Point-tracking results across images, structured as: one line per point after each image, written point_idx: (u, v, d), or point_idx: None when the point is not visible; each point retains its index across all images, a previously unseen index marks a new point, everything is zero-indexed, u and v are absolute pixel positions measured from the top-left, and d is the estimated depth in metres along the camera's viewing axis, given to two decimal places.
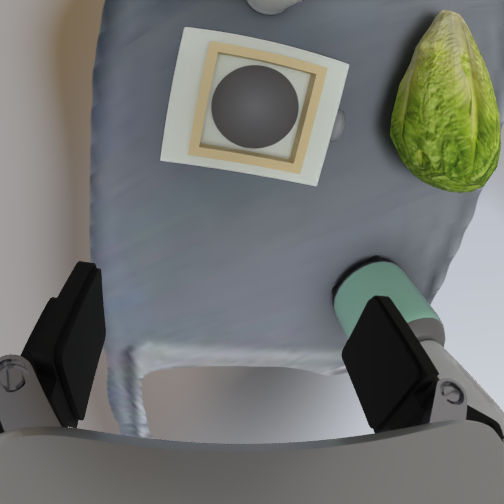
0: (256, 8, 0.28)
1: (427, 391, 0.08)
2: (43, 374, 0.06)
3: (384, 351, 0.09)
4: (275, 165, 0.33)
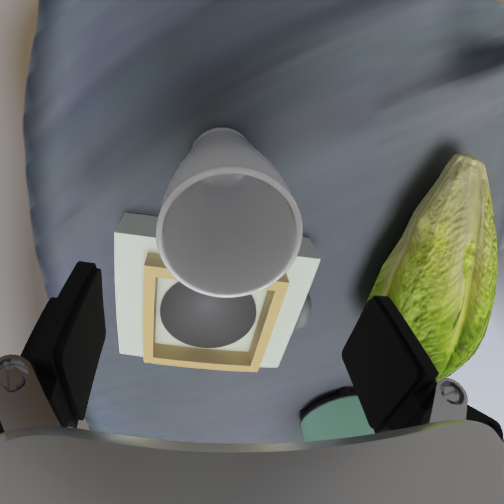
0: None
1: (427, 391, 0.08)
2: (43, 374, 0.06)
3: (384, 351, 0.09)
4: (231, 368, 0.32)
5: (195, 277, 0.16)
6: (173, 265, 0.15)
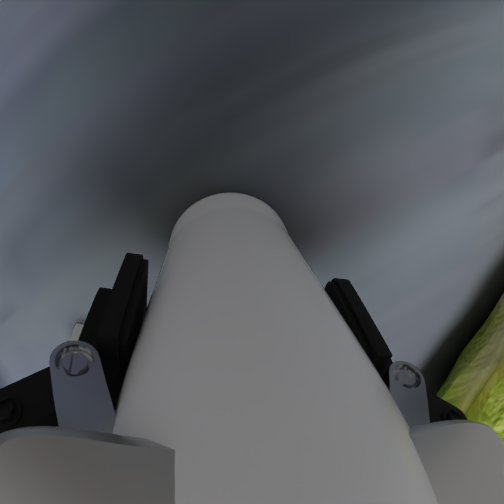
0: None
1: (382, 374, 0.08)
2: (104, 358, 0.07)
3: None
4: None
5: None
6: None
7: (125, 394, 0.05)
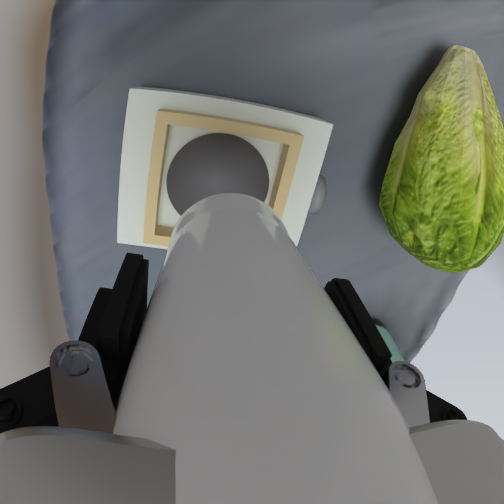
0: None
1: (382, 374, 0.08)
2: (104, 358, 0.07)
3: None
4: None
5: None
6: None
7: (125, 395, 0.05)
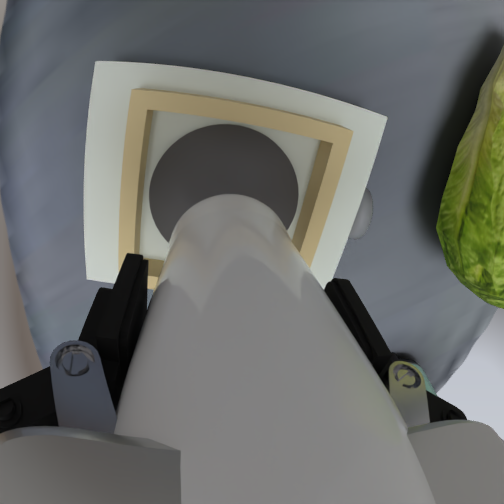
0: None
1: (382, 374, 0.08)
2: (104, 358, 0.07)
3: None
4: None
5: None
6: None
7: (125, 397, 0.05)
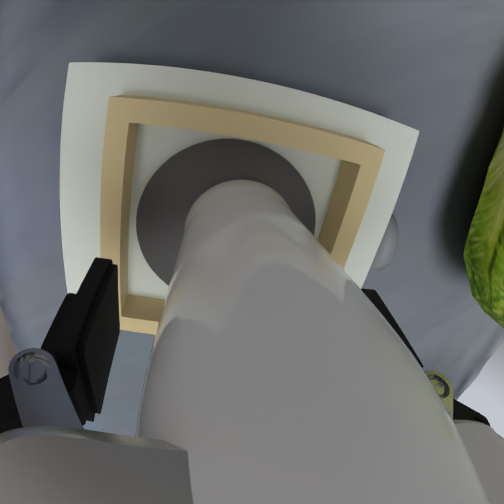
0: None
1: None
2: (64, 367, 0.06)
3: None
4: None
5: None
6: None
7: (163, 338, 0.07)
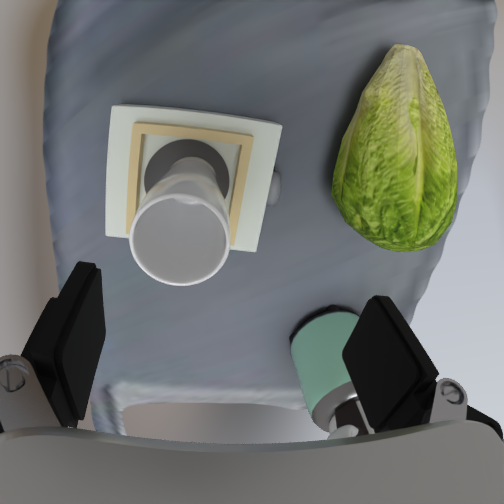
0: None
1: (427, 391, 0.08)
2: (43, 374, 0.06)
3: (384, 351, 0.09)
4: None
5: (159, 271, 0.22)
6: (143, 262, 0.21)
7: None
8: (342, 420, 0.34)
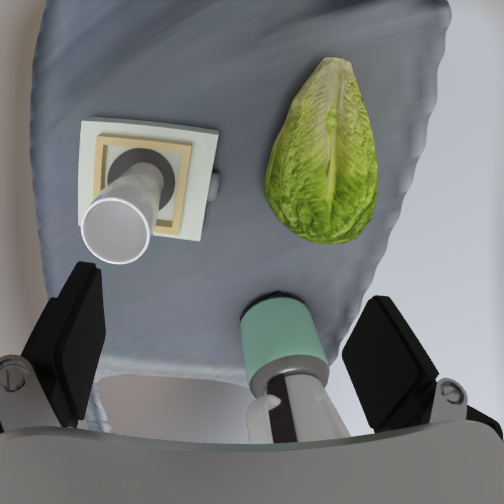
0: None
1: (427, 391, 0.08)
2: (43, 374, 0.06)
3: (384, 351, 0.09)
4: (157, 229, 0.41)
5: (104, 253, 0.28)
6: (91, 246, 0.27)
7: None
8: (271, 392, 0.41)
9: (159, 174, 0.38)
